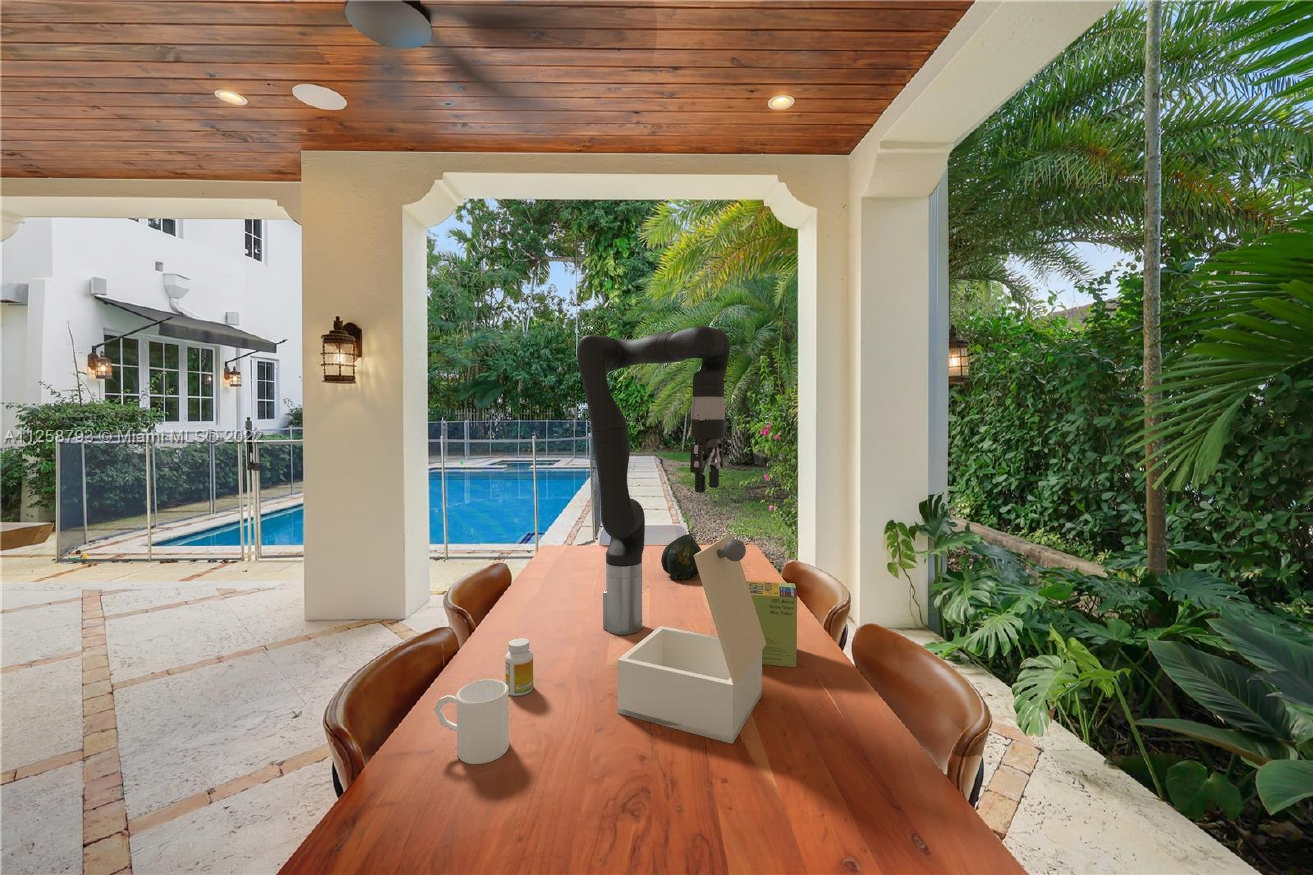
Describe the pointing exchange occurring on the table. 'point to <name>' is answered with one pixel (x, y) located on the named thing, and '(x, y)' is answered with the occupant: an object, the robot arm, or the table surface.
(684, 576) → the squash
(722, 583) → the lid
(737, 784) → the table surface
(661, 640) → the carton
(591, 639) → the table surface
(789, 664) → the protein box
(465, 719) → the mug
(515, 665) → the supplement bottle
